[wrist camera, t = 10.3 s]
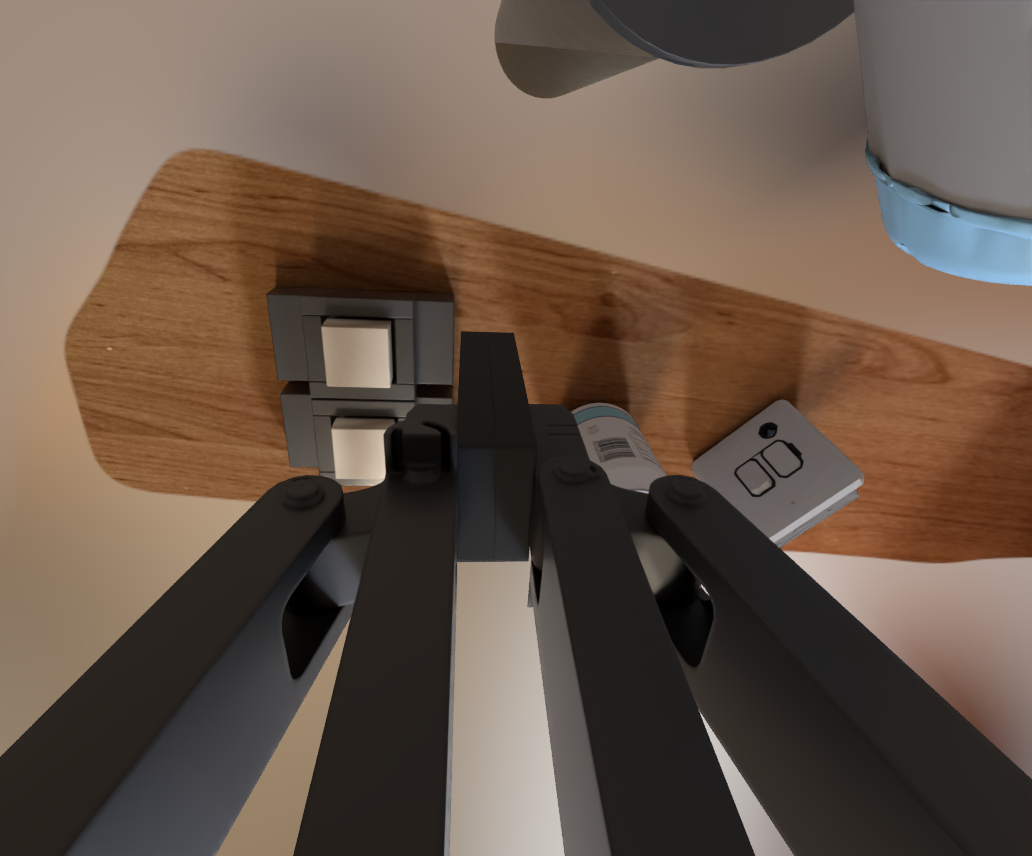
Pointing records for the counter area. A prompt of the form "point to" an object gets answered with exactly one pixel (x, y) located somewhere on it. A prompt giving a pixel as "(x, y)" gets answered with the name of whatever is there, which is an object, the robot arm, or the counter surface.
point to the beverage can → (617, 446)
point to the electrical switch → (780, 473)
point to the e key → (359, 447)
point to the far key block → (316, 416)
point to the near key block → (414, 319)
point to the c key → (357, 352)
